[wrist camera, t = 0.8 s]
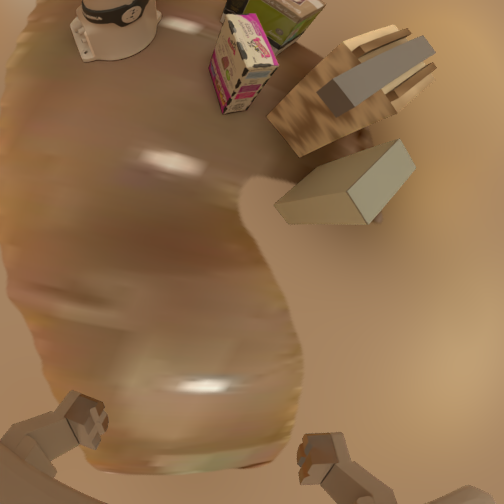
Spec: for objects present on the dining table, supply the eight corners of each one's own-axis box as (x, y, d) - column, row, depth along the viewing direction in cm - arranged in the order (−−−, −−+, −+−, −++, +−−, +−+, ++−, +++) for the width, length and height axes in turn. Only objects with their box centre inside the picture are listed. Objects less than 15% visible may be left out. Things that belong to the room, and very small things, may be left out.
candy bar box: (248, 110, 45) (281, 66, 30) (222, 115, 44) (246, 69, 29) (232, 63, 44) (257, 11, 28) (207, 67, 42) (224, 12, 27)
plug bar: (315, 92, 21) (332, 78, 18) (409, 42, 24) (422, 35, 22) (336, 117, 22) (355, 107, 19) (421, 59, 25) (436, 52, 22)
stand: (266, 116, 46) (349, 35, 20) (313, 87, 48) (400, 20, 22) (299, 157, 49) (406, 109, 23) (342, 123, 51) (442, 76, 25)
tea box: (297, 40, 47) (329, 4, 32) (271, 60, 46) (302, 19, 31) (247, 5, 43) (267, -36, 28) (218, 22, 42) (234, -24, 27)
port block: (273, 204, 48) (347, 191, 27) (317, 166, 50) (399, 138, 29) (288, 224, 49) (368, 224, 28) (330, 185, 51) (416, 167, 30)
